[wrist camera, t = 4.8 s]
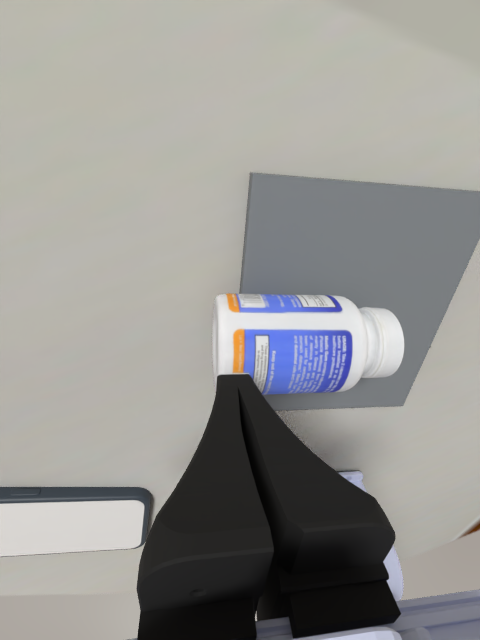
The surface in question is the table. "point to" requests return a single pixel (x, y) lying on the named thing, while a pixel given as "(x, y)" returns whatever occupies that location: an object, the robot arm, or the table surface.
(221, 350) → the pill bottle
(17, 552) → the smartphone
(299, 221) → the rubber mat
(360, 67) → the table surface
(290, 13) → the table surface
